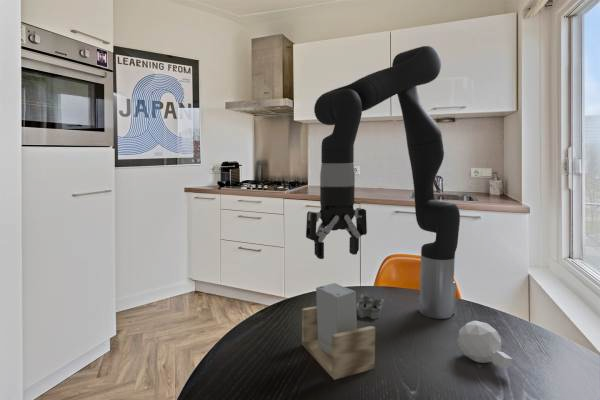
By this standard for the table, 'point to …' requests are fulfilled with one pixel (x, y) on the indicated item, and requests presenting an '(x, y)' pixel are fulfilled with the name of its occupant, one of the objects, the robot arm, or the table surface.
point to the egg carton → (369, 307)
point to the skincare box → (334, 313)
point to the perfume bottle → (482, 344)
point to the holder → (340, 347)
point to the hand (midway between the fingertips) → (336, 256)
